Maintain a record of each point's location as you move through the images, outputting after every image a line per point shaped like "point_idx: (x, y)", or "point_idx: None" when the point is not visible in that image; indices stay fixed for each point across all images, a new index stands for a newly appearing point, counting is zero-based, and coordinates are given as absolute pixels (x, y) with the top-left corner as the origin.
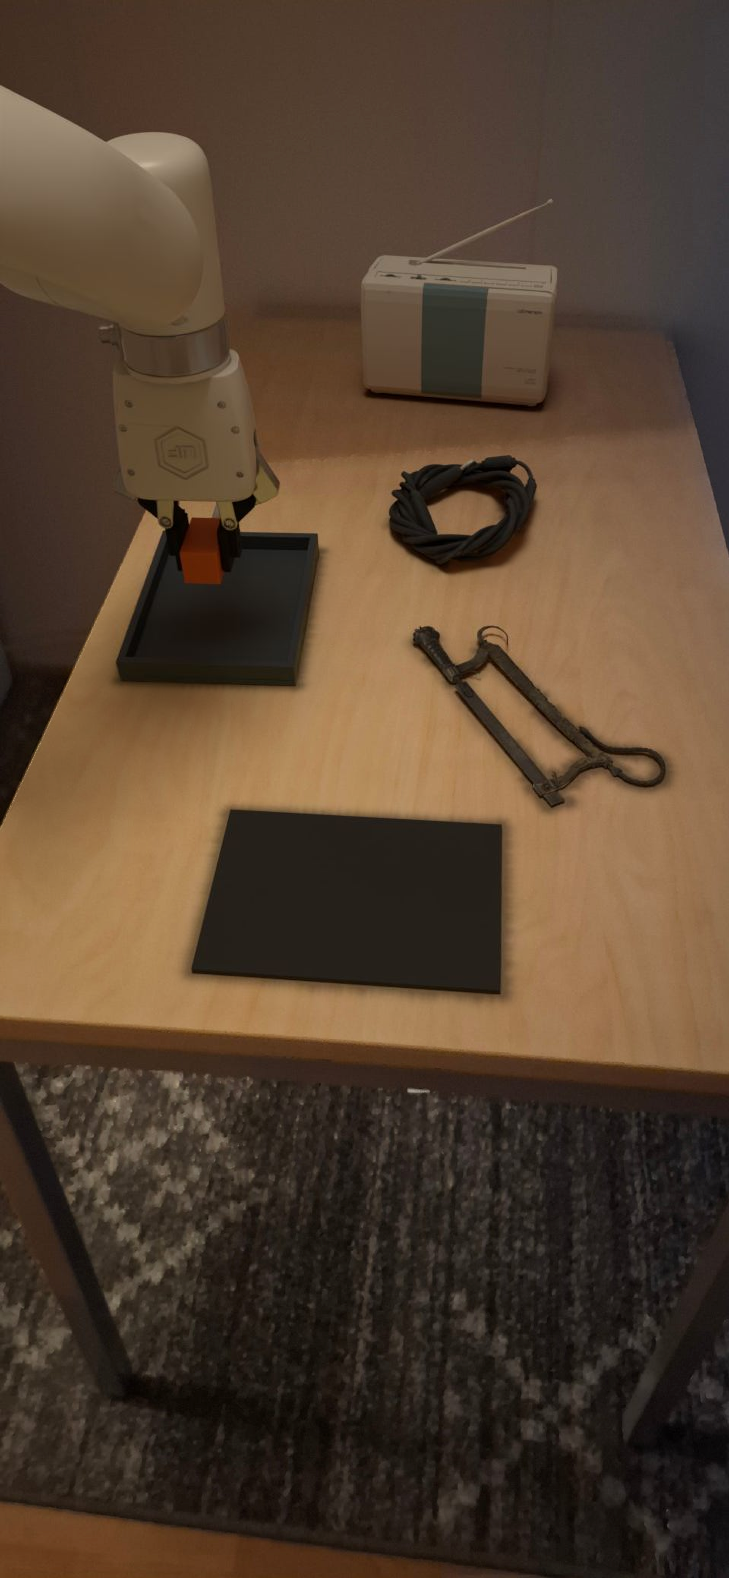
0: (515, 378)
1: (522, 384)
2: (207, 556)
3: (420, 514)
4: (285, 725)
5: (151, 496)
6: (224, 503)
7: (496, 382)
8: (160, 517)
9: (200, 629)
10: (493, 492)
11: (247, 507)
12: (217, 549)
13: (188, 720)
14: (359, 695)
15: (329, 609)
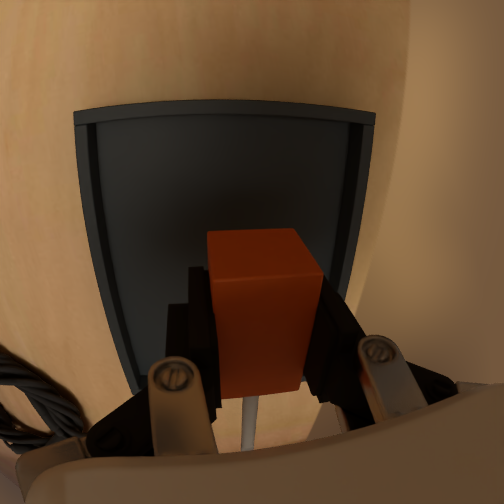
0: None
1: None
2: (240, 272)
3: (43, 411)
4: (93, 26)
5: (477, 401)
6: (184, 443)
7: None
8: (396, 358)
9: (256, 217)
10: (26, 427)
11: (108, 428)
12: (213, 298)
13: (245, 20)
14: (6, 111)
15: (83, 282)
